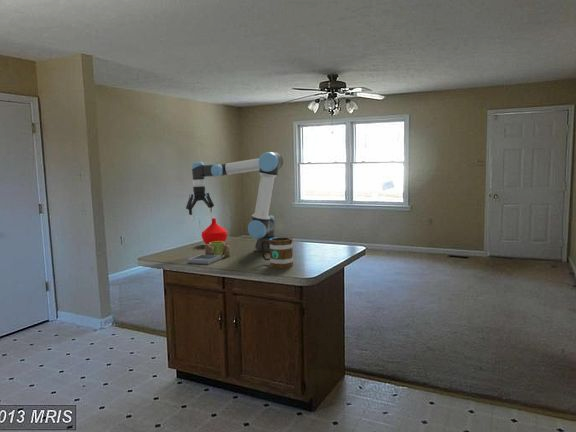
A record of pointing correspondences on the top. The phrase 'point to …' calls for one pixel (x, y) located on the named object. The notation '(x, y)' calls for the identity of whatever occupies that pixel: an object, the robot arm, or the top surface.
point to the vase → (214, 233)
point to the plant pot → (217, 247)
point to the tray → (204, 259)
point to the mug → (279, 252)
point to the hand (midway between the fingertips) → (200, 218)
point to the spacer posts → (210, 250)
